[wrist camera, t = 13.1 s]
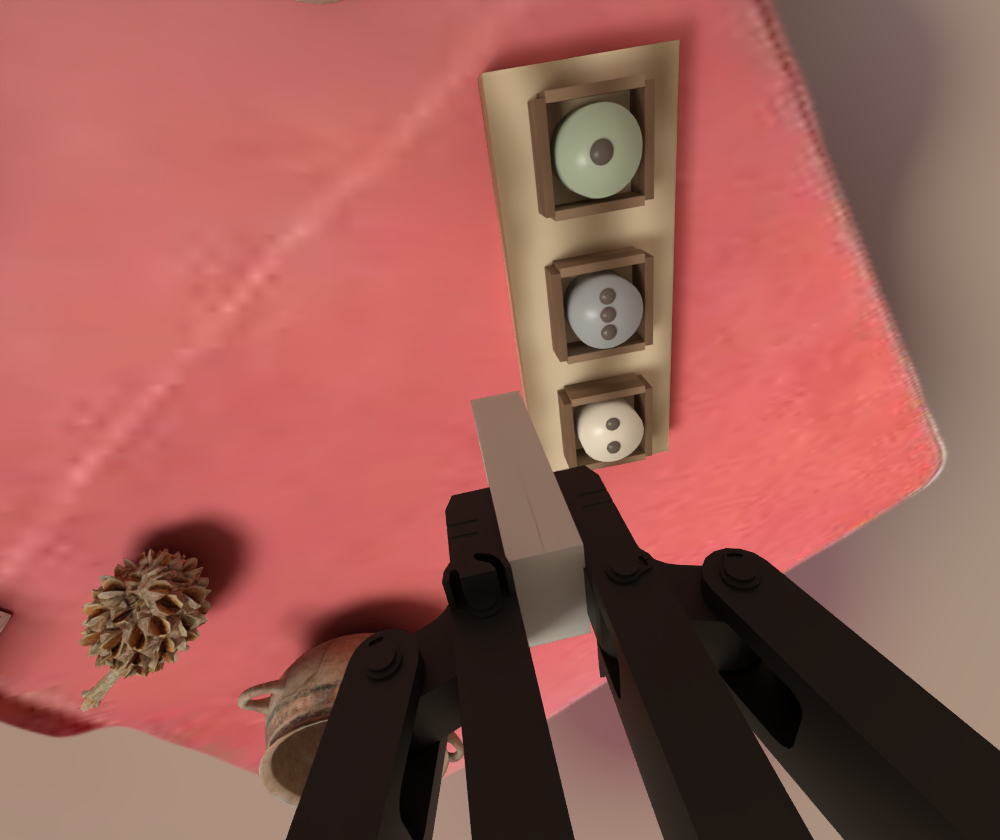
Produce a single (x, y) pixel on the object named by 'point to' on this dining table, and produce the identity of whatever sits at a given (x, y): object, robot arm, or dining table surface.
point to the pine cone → (143, 617)
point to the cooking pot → (305, 715)
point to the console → (586, 239)
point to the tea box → (4, 619)
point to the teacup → (318, 1)
